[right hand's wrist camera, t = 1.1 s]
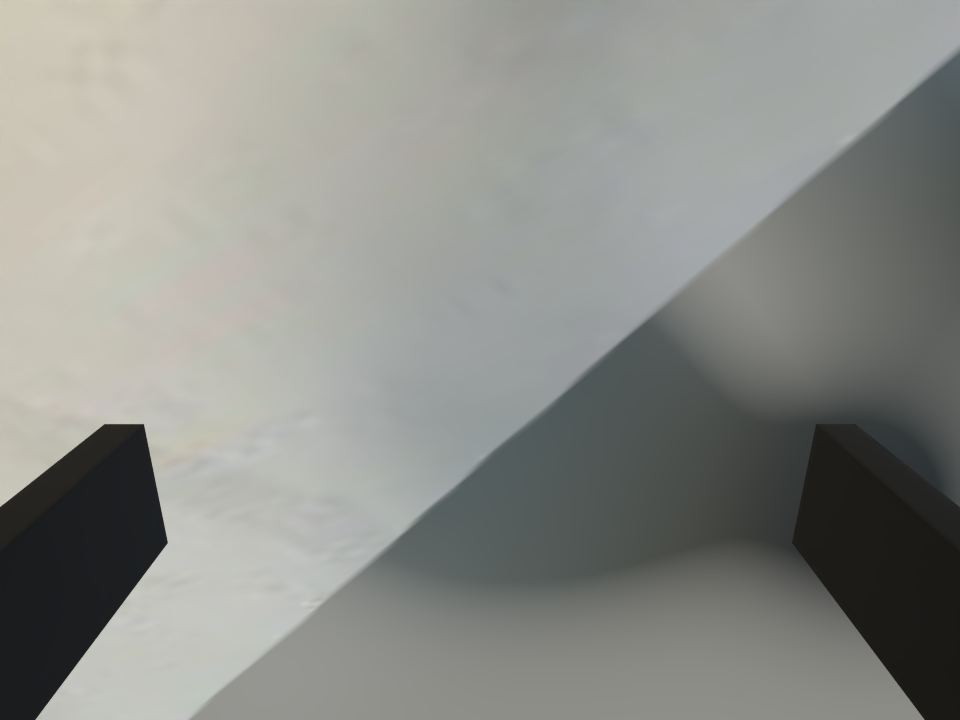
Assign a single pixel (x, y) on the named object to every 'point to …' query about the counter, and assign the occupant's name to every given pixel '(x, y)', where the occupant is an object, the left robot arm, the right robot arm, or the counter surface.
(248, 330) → the counter surface
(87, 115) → the counter surface
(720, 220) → the counter surface
